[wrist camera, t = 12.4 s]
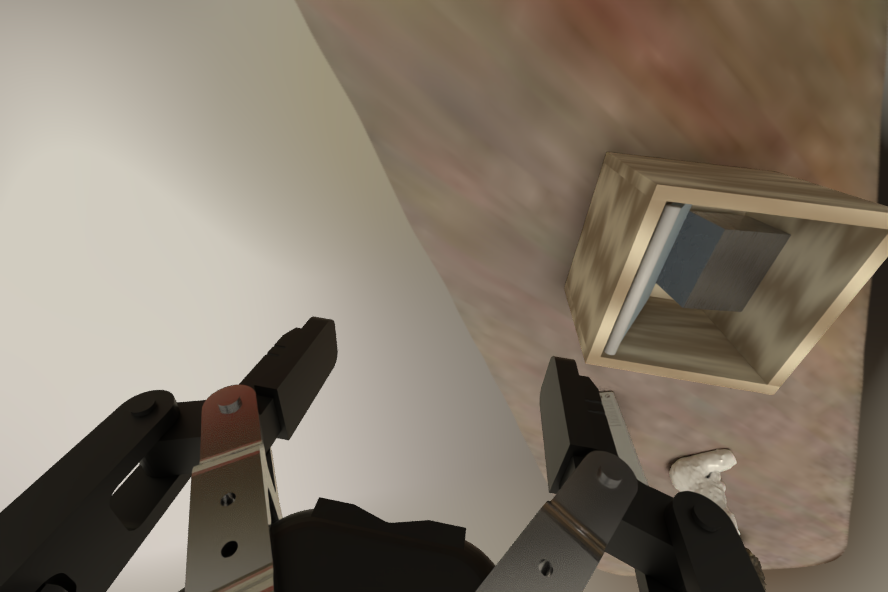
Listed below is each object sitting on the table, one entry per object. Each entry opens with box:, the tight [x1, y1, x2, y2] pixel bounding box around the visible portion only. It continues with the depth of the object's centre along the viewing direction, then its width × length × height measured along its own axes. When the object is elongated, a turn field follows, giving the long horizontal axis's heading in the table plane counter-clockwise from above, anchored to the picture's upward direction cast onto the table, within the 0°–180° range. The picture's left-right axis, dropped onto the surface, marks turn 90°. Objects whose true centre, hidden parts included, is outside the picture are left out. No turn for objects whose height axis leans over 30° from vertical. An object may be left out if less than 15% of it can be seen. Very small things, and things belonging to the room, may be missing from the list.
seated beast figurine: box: [669, 449, 740, 535], centre depth 51 cm, size 10×9×12 cm
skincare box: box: [599, 392, 649, 486], centre depth 47 cm, size 8×6×15 cm
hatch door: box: [604, 202, 692, 355], centre depth 32 cm, size 13×13×1 cm
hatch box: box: [564, 152, 888, 395], centre depth 33 cm, size 16×16×14 cm
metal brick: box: [656, 211, 791, 312], centre depth 34 cm, size 8×5×6 cm
